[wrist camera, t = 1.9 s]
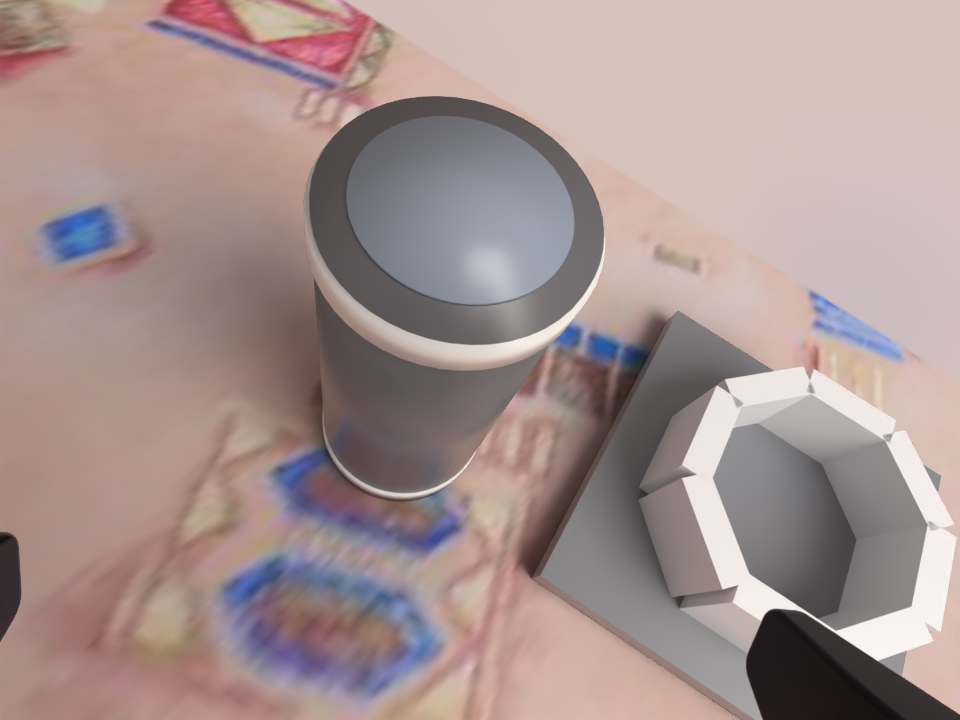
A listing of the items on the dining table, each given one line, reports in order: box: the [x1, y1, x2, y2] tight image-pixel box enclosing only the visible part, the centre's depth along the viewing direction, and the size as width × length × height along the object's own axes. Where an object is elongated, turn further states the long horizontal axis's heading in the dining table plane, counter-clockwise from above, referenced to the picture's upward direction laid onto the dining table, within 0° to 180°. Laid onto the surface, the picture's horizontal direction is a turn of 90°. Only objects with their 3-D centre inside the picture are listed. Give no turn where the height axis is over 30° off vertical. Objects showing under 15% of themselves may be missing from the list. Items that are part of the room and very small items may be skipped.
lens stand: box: [532, 311, 957, 720], centre depth 21 cm, size 12×12×4 cm
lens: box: [303, 96, 605, 502], centre depth 16 cm, size 5×5×12 cm
